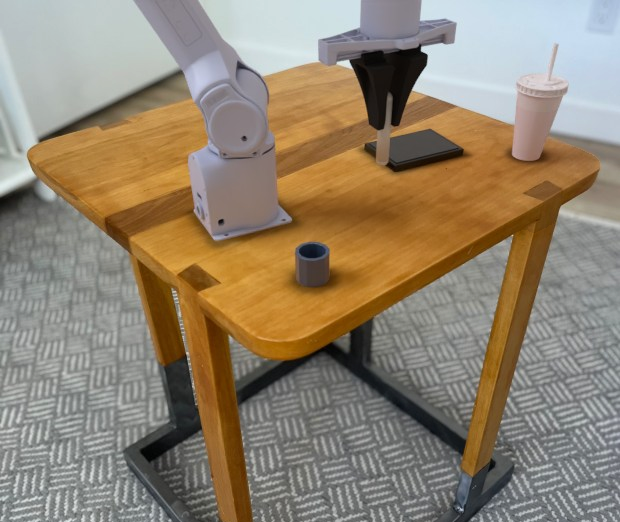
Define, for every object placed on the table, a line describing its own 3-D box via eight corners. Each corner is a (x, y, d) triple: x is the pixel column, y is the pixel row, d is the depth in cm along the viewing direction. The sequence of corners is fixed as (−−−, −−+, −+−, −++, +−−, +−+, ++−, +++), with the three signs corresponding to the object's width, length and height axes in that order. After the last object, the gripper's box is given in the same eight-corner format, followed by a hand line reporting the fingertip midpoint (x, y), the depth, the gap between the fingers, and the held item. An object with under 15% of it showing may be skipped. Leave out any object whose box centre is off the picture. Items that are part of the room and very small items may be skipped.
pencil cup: (305, 293, 61) (304, 263, 59) (290, 276, 64) (289, 246, 61) (335, 284, 62) (335, 254, 60) (320, 267, 65) (319, 238, 62)
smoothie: (552, 167, 81) (582, 53, 72) (502, 163, 82) (525, 50, 73) (548, 147, 86) (576, 37, 76) (501, 143, 87) (522, 35, 77)
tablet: (394, 172, 81) (395, 164, 80) (364, 149, 86) (364, 142, 85) (463, 155, 84) (464, 148, 84) (429, 134, 90) (430, 127, 89)
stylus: (379, 169, 68) (384, 95, 63) (373, 164, 69) (377, 90, 64) (390, 166, 69) (395, 92, 63) (384, 161, 70) (388, 88, 64)
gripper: (343, -3, 52) (341, 152, 61) (483, -24, 56) (462, 124, 65) (307, -19, 57) (310, 128, 66) (438, -36, 61) (425, 103, 70)
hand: (383, 125), depth 66 cm, fingers closed on stylus, 1 cm apart
